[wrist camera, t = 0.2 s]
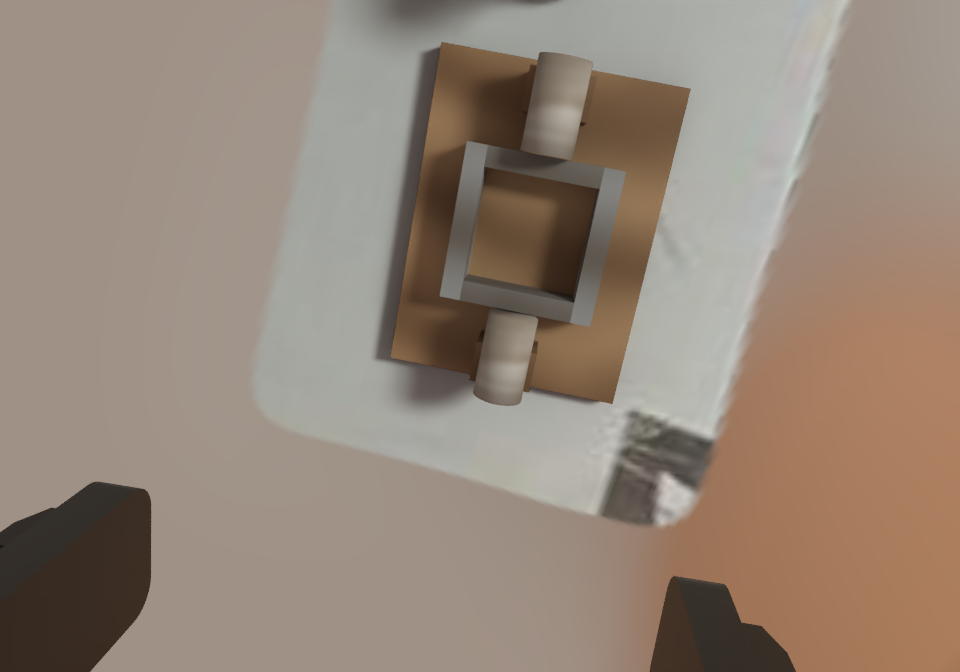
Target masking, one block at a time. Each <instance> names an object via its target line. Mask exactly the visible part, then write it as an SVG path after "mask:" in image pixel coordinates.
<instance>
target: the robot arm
mask: <svg viewBox="0 0 960 672" xmlns="http://www.w3.org/2000/svg"><path fill="white" fill-rule="evenodd" d="M150 581H151V500H150V496H149V494H148V492H147V491H146V490H144V489H140V488H134V487H128V486H122V485H115V484H109V483H103V482H93V483H91V484H89V485H88V486H86V487H85V488H83V489H82V490H81V491H79V492H78V493H77V494H75V495H74V496H72V497H71V498H70V499H68V500H67V501H66V502H64V503H63V504H61V505H60V506H59V507H57V508H50V509H47V510H45V511H42V512H40V513H37V514H35V515H32V516H30V517H27V518H25V519H22V520H20V521H17V522H15V523H13V524H11V525H10V526H9V527H7V528H6V529H4V530H3V531H2V532H0V672H90V671H91V670H92V669H93V668H94V666H95V665H96V664H97V663H98V662H99V661H100V660H101V659H102V657H103V656H104V655H105V654H106V653H107V652H108V651H109V650H110V648H111V647H112V646H113V645H114V644H115V643H116V642H117V640H118V639H119V638H120V637H121V636H122V635H123V633H125V631H126V630H127V629H128V628H129V627H130V626H131V625H132V623H133V622H134V621H135V620H136V619H137V617H138V615H139V614H140V612H141V610H142V608H143V606H144V604H145V601H146V598H147V595H148V592H149V587H150ZM650 672H796V671H795V669H794V667H793V664H792V663H791V660H790V658H789V656H788V653H787V652H786V651H785V650H784V649H783V648H782V647H781V646H780V645H779V644H778V643H777V642H776V641H775V640H774V639H773V638H772V637H771V636H770V635H769V634H768V633H767V632H766V631H765V629H764V628H763V627H762V626H758V625H752V624H746V623H741V621H740V618H739V616H738V613H737V611H736V608H735V605H734V603H733V601H732V598H731V595H730V593H729V590H728V588H727V587H726V585H724V584H720V583H714V582H707V581H702V580H695V579H689V578H683V577H677V576H673V577H672V578H671V580H670V582H669V585H668V588H667V592H666V597H665V602H664V606H663V611H662V615H661V620H660V625H659V629H658V634H657V638H656V643H655V648H654V652H653V657H652V661H651V667H650Z"/></svg>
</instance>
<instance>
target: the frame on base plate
mask: <svg viewBox="0 0 960 672" xmlns="http://www.w3.org/2000/svg"><path fill="white" fill-rule="evenodd" d="M592 66H593V62H591V61H589V60H586V59H583V58H579V57H575V56H570V55H565V54H559V53H551V52H540V53H539V57H538V60H534V59H529V58H524V57H518V56H513V55H508V54H502V53H497V52H492V51H486V50H481V49H476V48H470V47H465V46H460V45H454V44H449V43H444V42H442V43H441V49H440V55H439V61H438V67H437V73H436V80H435V86H434V92H433V98H432V104H431V110H430V117H429V123H428V129H427V135H426V141H425V148H424V154H423V160H422V166H421V172H420V178H419V185H418V191H417V197H416V203H415V209H414V215H413V222H412V228H411V234H410V240H409V246H408V252H407V259H406V265H405V271H404V277H403V283H402V290H401V296H400V302H399V308H398V314H397V320H396V327H395V333H394V339H393V345H392V351H391V358H395V359H400V360H405V361H410V362H415V363H419V364H424V365H429V366H434V367H438V368H443V369H448V370H453V371H458V372H462V373H467V374H471V375H470V380H472V381H475V385H474V391H473V393H474V395H475V396H476V397H478V398H479V399H481V400H483V401H486V402H489V403H492V404H497V405H504V406H512V405H517V404H519V403H520V402H521V398H522V393H523V391H524V392H529V389H530V387H534V388H539V389H544V390H549V391H553V392H558V393H563V394H568V395H572V396H577V397H582V398H587V399H592V400H596V401H601V402H606V403H611V404H612V403H613V399H614V395H615V391H616V387H617V383H618V379H619V375H620V371H621V367H622V363H623V359H624V355H625V351H626V347H627V343H628V339H629V335H630V331H631V327H632V323H633V319H634V315H635V311H636V307H637V303H638V299H639V295H640V291H641V287H642V283H643V279H644V275H645V271H646V267H647V262H648V258H649V254H650V250H651V246H652V242H653V238H654V234H655V230H656V226H657V222H658V218H659V214H660V210H661V206H662V202H663V198H664V194H665V190H666V186H667V182H668V178H669V174H670V170H671V166H672V162H673V158H674V154H675V150H676V146H677V142H678V138H679V134H680V130H681V126H682V122H683V118H684V114H685V110H686V105H687V101H688V97H689V93H690V89H689V88H683V87H678V86H673V85H667V84H662V83H657V82H652V81H646V80H641V79H636V78H630V77H625V76H620V75H614V74H609V73H604V72H598V71H593V70H592Z"/></svg>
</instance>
